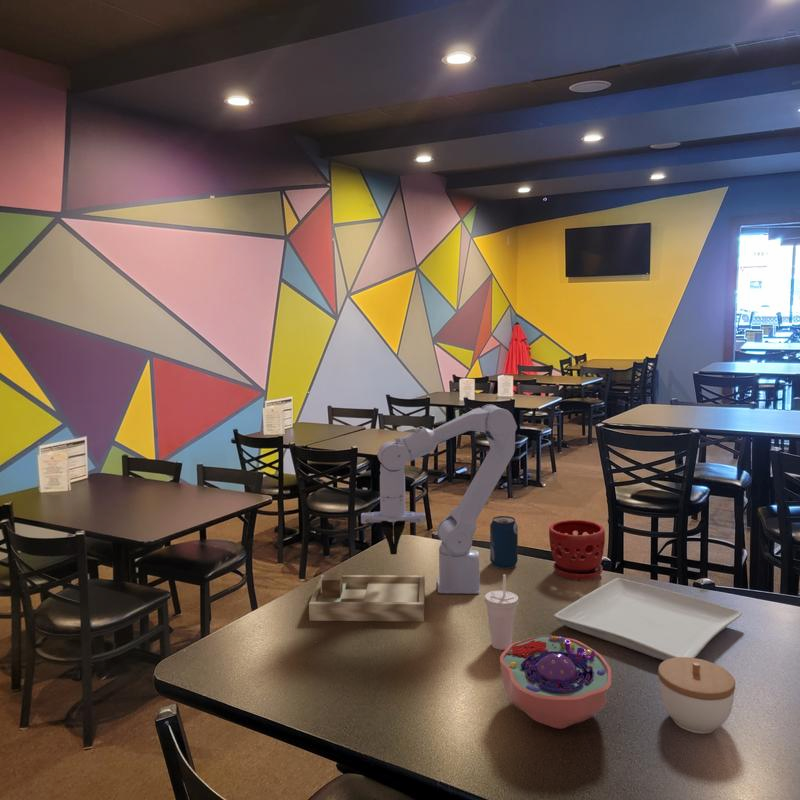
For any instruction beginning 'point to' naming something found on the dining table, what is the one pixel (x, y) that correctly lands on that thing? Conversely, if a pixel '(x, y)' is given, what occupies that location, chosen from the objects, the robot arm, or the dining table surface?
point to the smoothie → (501, 616)
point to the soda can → (503, 542)
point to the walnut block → (332, 585)
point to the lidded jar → (696, 693)
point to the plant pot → (577, 548)
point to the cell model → (555, 679)
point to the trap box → (372, 599)
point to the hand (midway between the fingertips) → (393, 553)
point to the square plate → (648, 618)
